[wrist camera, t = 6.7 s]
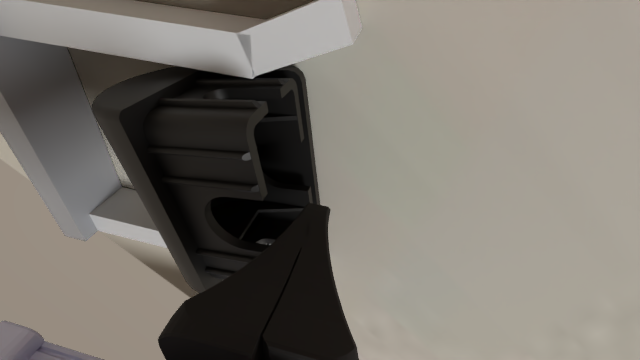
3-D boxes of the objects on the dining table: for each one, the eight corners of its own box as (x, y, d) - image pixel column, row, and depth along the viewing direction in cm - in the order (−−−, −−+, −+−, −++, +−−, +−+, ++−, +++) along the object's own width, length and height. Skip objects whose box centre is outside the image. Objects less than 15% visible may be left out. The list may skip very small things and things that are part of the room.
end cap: (173, 58, 16) (46, 110, 10) (303, 54, 14) (227, 117, 8) (225, 206, 21) (160, 288, 16) (322, 218, 19) (284, 316, 14)
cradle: (324, 264, 23) (311, 314, 19) (116, 214, 25) (75, 251, 21) (368, -13, 12) (356, -2, 9) (-4, -60, 14) (-123, -65, 11)
